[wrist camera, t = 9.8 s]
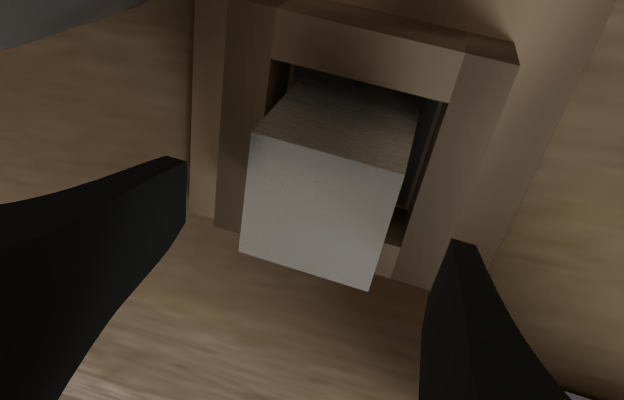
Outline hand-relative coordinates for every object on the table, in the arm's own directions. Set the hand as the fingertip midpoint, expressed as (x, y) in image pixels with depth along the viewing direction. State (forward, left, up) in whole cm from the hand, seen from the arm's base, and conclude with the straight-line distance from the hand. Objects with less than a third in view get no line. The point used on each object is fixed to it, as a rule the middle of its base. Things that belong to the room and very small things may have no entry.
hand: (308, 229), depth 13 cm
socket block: (0, 0, -7) cm, 7 cm away
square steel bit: (0, 0, -7) cm, 7 cm away
